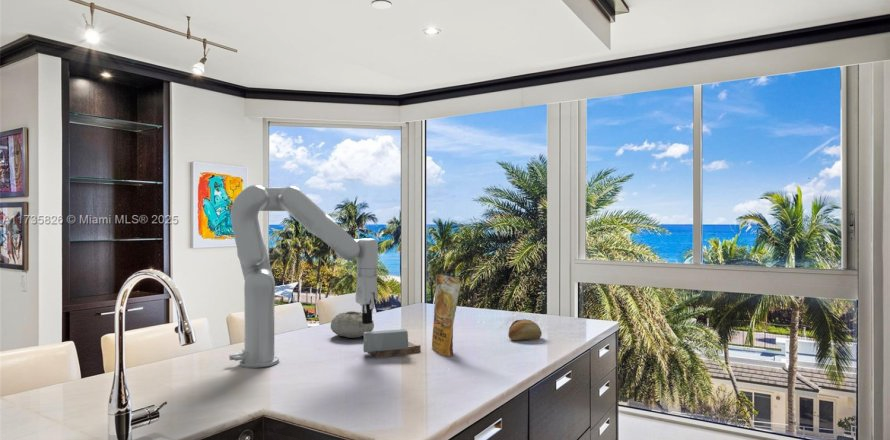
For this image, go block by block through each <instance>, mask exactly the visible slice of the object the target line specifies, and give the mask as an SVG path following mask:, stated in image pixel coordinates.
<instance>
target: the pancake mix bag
mask: <svg viewBox="0 0 890 440" xmlns="http://www.w3.org/2000/svg"><path fill="white" fill-rule="evenodd" d="M434 276H435V293H434V307H433V308H434V309H433V314H434V315H433V324H432V325H433V327H432V338H431V339H432V340H431V349H432V350H433V351H434V352H435V353H438V354H439V355H440V356H443V357H449V358H450V357H453V356H454V349H453V347H454V342H453V339H454V323H455V316H456V312H457V311H456V310H457V305H458V300H459V296H460V293H461V289H462V280H461V279H460V278H458V277H453V276H450V275H447V274H440V273H437V274H435V275H434Z"/></svg>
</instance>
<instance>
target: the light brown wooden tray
mask: <svg viewBox="0 0 890 440" xmlns="http://www.w3.org/2000/svg"><path fill="white" fill-rule="evenodd" d="M421 346H422V345H421V344H419V345H418V344H417V345H416V344H414V343H412V342H409V341H408V349H398V350H386V351H374V352H368V353H370V354H371V355H372V356H374V357H376V358H383V357H391V356H398V355H405V354H411V353H419V352H421V348H422V347H421Z"/></svg>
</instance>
